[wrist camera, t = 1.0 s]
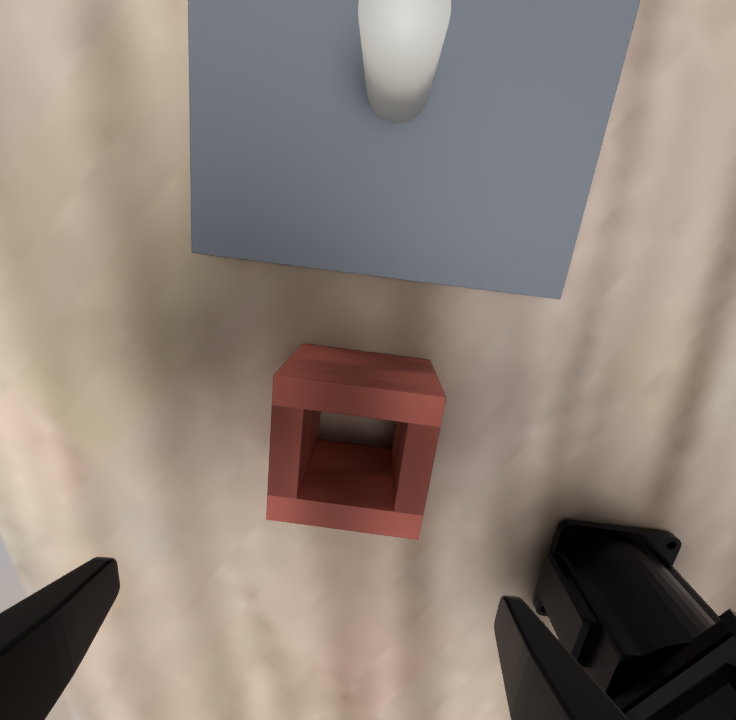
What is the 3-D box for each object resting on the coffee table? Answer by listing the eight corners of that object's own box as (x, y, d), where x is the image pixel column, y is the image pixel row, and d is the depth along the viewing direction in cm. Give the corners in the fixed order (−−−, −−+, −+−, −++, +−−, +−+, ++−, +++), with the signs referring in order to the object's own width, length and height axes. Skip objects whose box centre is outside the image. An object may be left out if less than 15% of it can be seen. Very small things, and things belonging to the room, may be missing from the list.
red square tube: (429, 360, 18) (446, 397, 13) (410, 471, 20) (418, 539, 15) (303, 343, 18) (273, 375, 13) (294, 456, 20) (265, 519, 15)
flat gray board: (644, -94, 13) (846, -365, 7) (545, 295, 17) (627, 316, 11) (206, -144, 13) (71, -447, 8) (207, 252, 17) (118, 251, 11)
